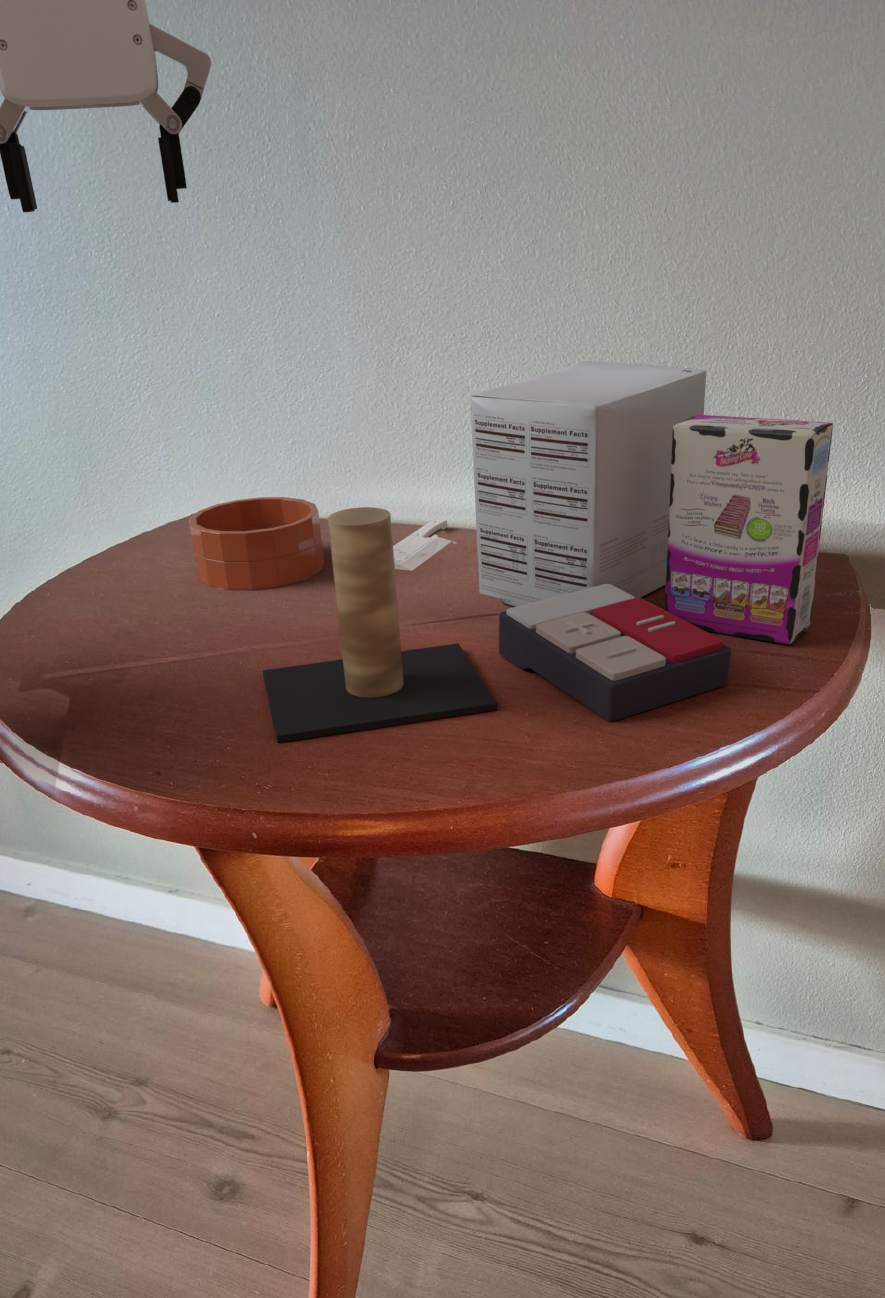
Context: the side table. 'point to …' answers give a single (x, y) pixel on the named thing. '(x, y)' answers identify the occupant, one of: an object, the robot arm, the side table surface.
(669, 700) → the calculator
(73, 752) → the side table surface
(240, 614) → the side table surface
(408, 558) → the butcher knife
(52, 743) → the side table surface
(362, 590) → the pestle
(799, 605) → the candy bar box
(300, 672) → the mat
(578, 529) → the supplement box
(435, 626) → the side table surface
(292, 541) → the crock
